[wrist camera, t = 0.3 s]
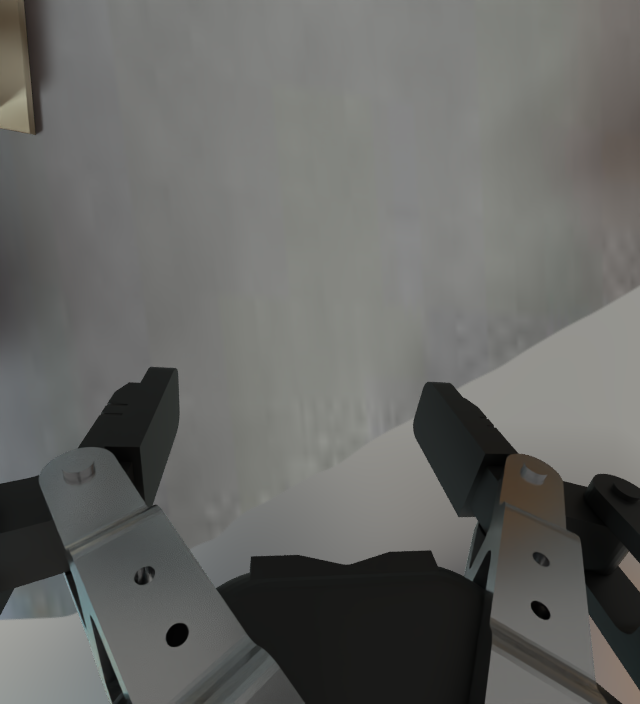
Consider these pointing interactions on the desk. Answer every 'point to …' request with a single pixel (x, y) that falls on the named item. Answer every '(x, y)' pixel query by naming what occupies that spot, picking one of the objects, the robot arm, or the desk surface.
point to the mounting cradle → (15, 70)
